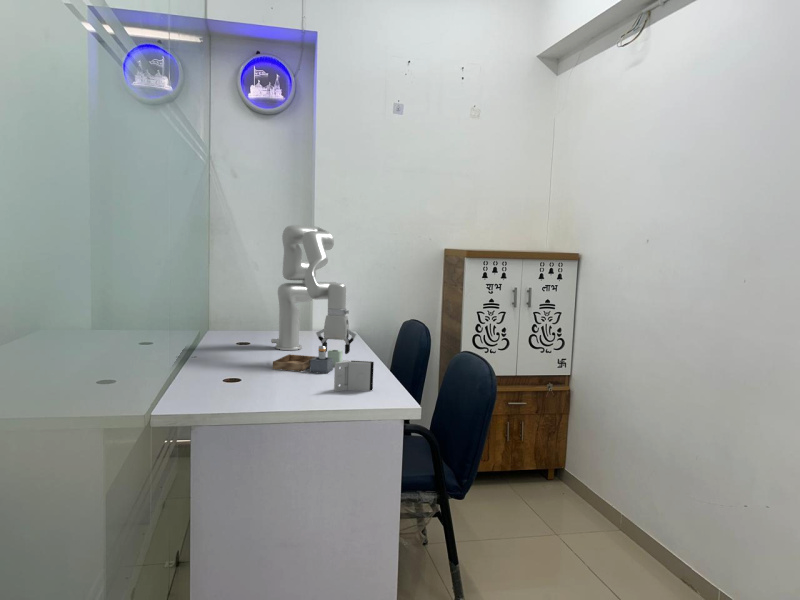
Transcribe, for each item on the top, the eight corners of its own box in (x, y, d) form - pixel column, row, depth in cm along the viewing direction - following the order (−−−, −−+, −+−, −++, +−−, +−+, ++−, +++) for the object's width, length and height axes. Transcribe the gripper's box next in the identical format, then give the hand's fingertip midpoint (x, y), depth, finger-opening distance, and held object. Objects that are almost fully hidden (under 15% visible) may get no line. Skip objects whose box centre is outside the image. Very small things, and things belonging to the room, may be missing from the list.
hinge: (334, 391, 196) (334, 363, 195) (332, 387, 201) (333, 360, 201) (373, 391, 199) (374, 362, 198) (371, 387, 204) (372, 360, 203)
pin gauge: (316, 371, 226) (317, 346, 225) (319, 370, 228) (320, 345, 227) (323, 372, 225) (324, 347, 224) (326, 370, 228) (326, 346, 227)
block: (310, 372, 224) (310, 359, 223) (316, 368, 231) (316, 356, 230) (327, 373, 223) (327, 361, 222) (332, 370, 229) (333, 357, 229)
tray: (272, 369, 227) (272, 361, 226) (288, 361, 243) (288, 354, 243) (302, 371, 224) (302, 364, 224) (316, 363, 240) (316, 356, 240)
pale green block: (327, 365, 238) (327, 351, 238) (330, 363, 243) (331, 349, 242) (338, 366, 237) (339, 351, 237) (342, 364, 242) (342, 349, 242)
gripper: (358, 312, 240) (357, 352, 241) (320, 310, 243) (319, 350, 245) (353, 314, 233) (353, 355, 234) (314, 312, 236) (313, 353, 237)
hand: (335, 352), depth 239 cm, fingers open, 9 cm apart
